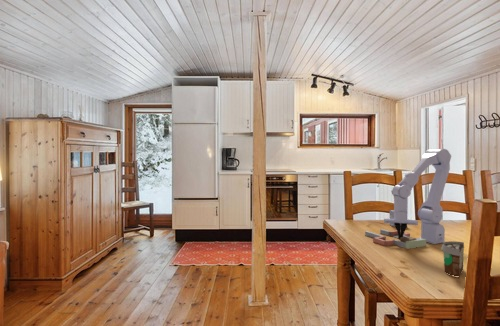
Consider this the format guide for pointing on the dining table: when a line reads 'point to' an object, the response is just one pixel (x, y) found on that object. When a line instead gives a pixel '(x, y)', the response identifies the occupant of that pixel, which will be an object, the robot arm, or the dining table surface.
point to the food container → (453, 257)
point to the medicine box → (392, 217)
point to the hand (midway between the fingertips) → (400, 239)
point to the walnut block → (406, 239)
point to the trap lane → (383, 241)
